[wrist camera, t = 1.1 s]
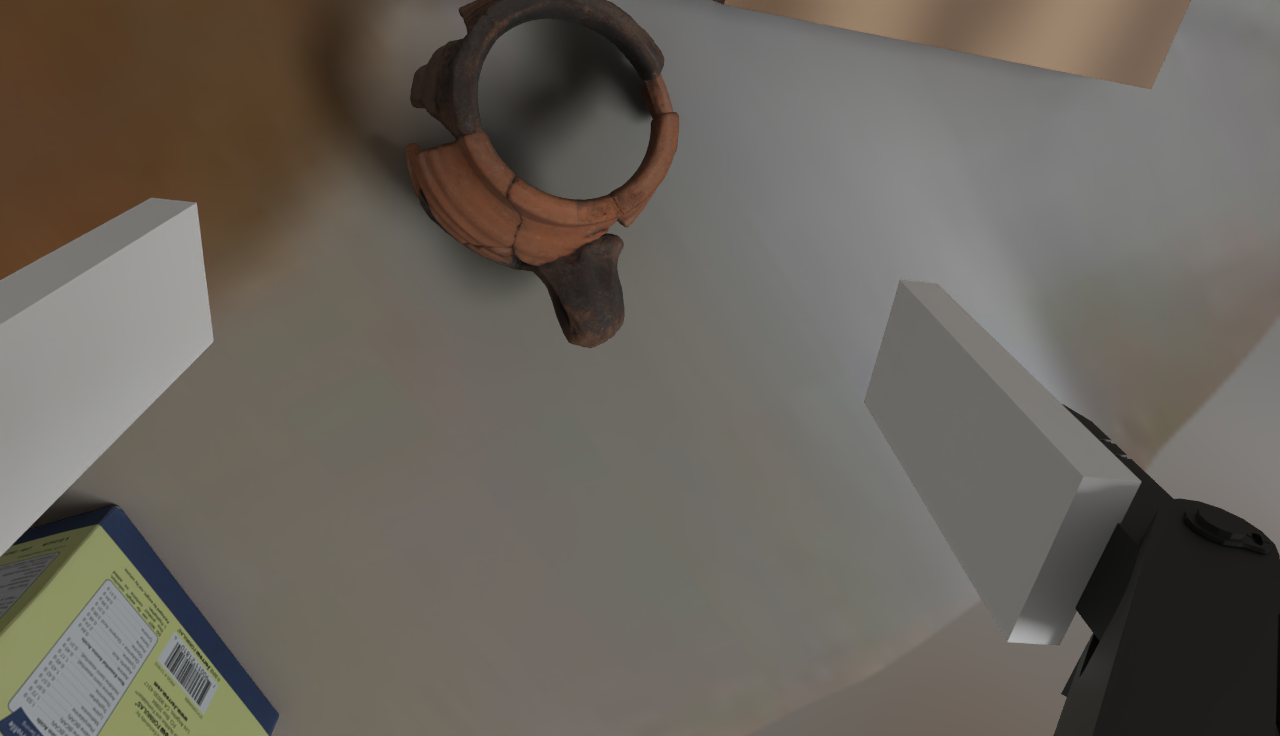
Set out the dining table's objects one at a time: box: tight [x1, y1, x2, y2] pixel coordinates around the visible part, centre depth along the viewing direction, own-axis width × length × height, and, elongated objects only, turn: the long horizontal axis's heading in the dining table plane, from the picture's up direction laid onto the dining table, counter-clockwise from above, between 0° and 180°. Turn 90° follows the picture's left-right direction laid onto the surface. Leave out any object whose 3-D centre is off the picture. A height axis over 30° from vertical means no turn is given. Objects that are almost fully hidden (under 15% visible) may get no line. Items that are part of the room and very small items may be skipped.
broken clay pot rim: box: [406, 0, 679, 348], centre depth 28 cm, size 12×10×8 cm
